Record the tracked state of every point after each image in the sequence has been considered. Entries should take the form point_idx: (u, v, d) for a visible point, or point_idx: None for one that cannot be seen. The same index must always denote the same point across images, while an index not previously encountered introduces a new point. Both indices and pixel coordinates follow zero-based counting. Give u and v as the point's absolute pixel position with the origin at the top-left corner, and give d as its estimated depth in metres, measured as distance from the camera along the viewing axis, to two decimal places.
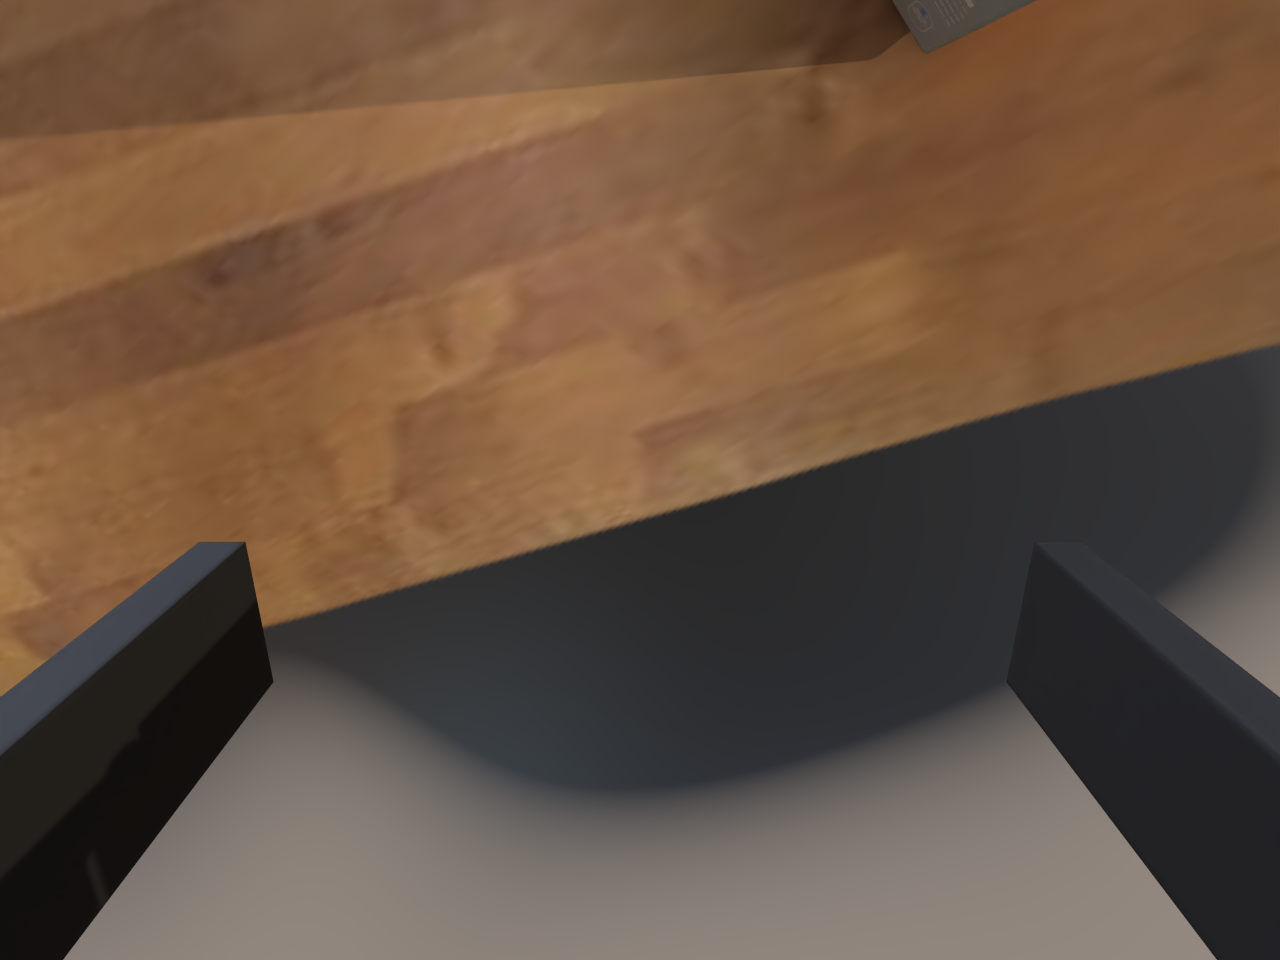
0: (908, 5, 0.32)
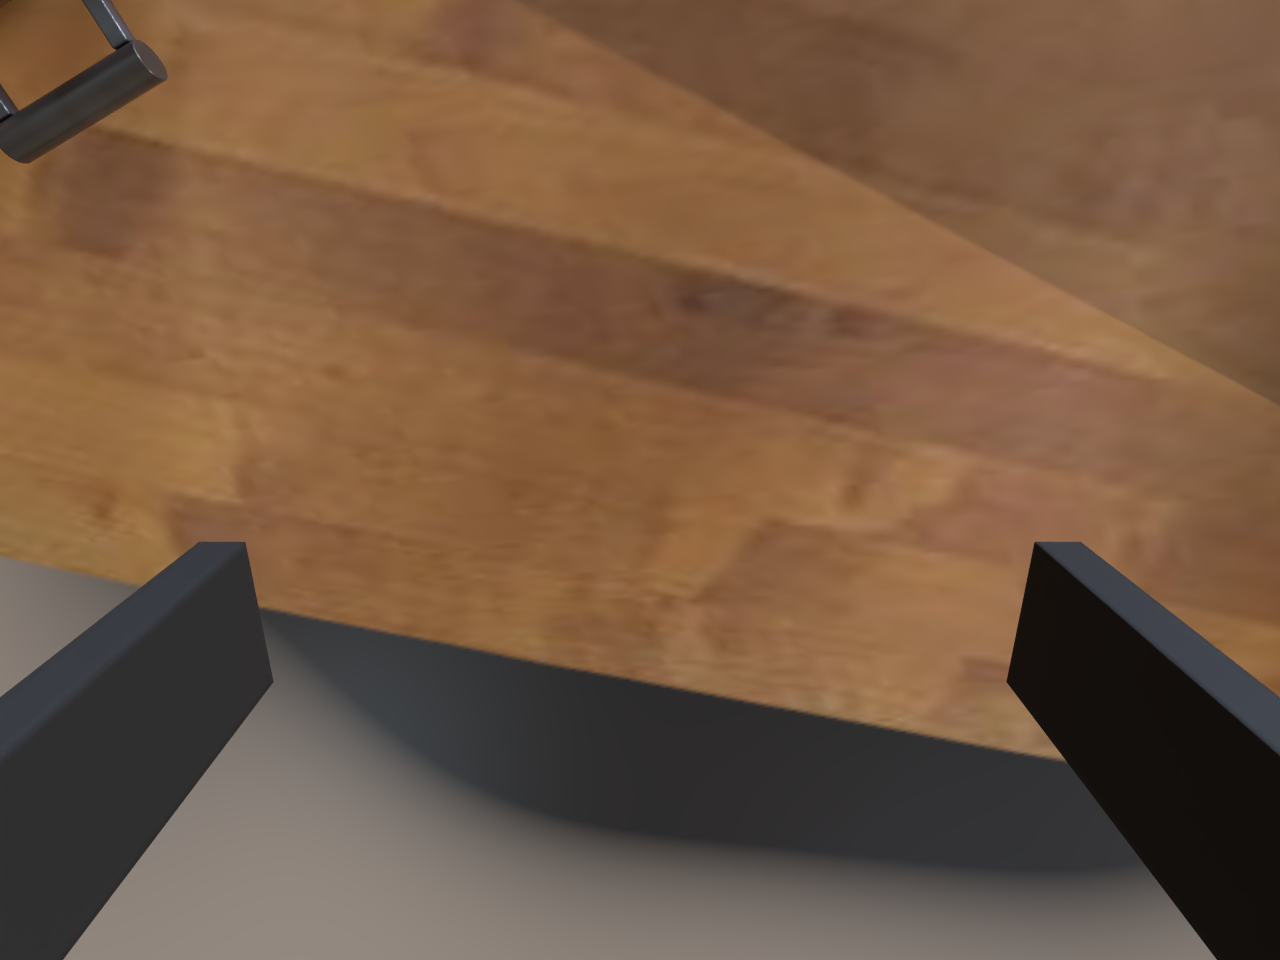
0: None
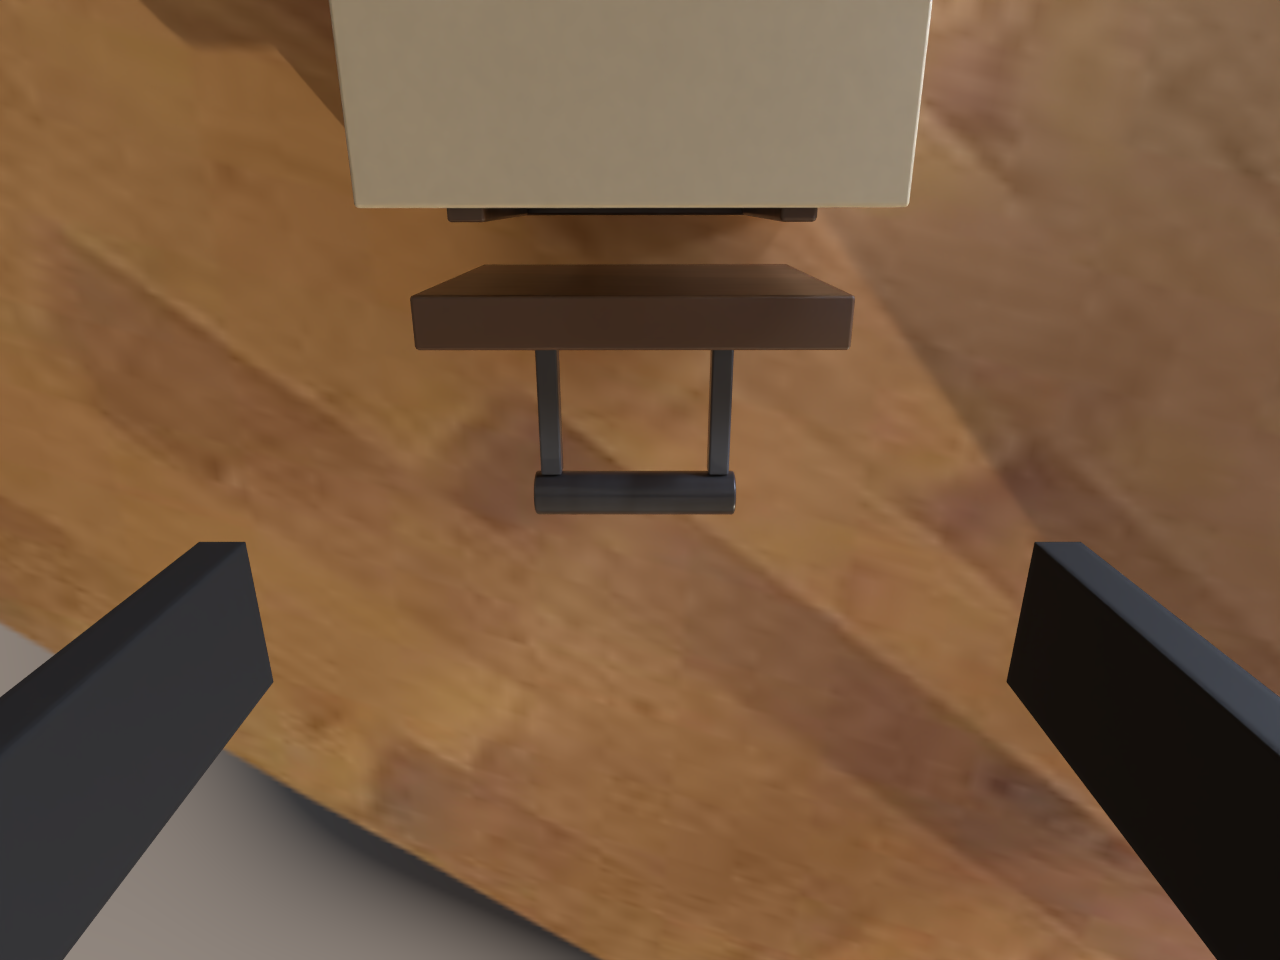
0: None
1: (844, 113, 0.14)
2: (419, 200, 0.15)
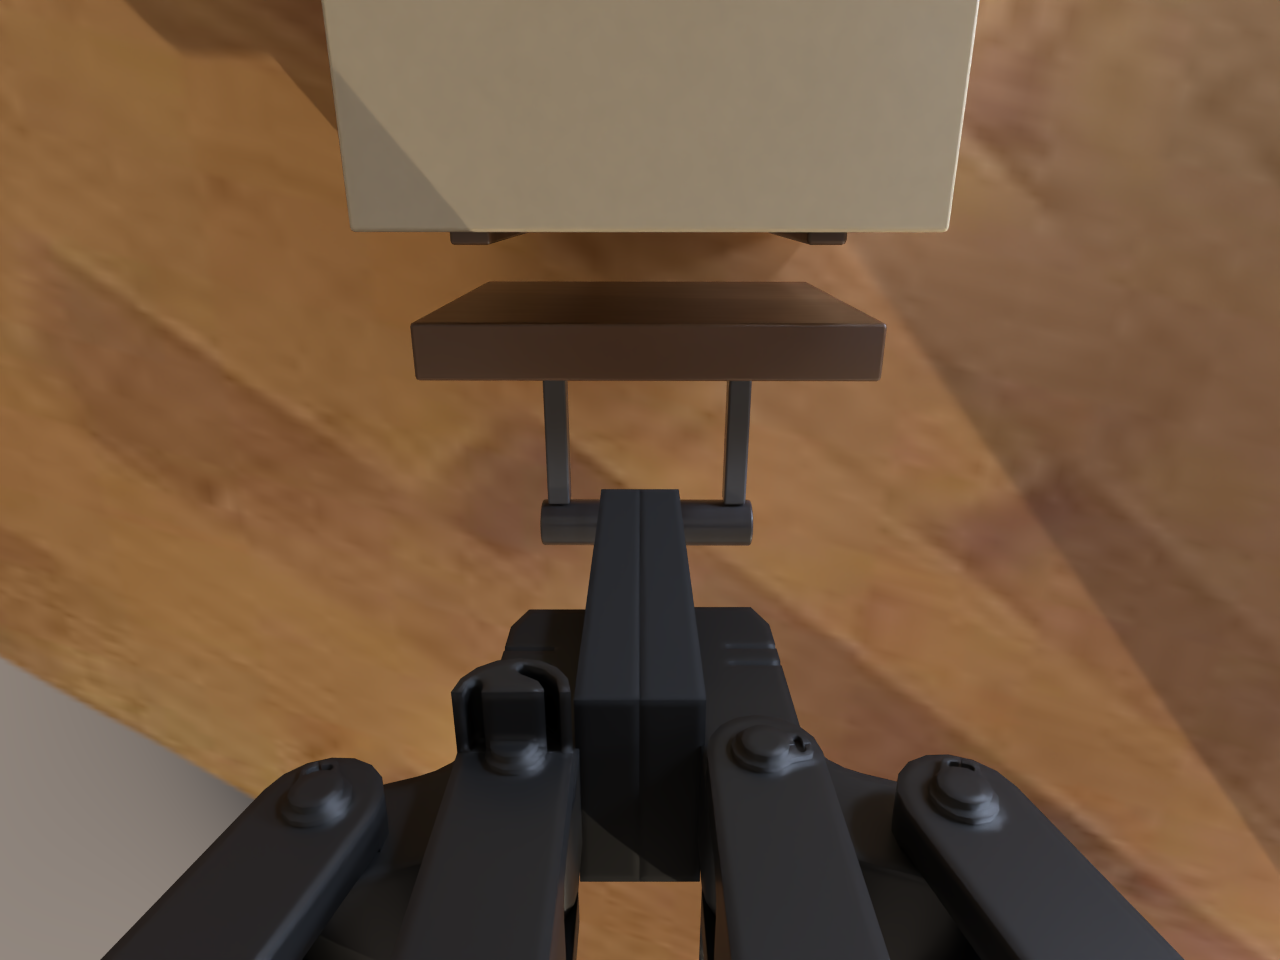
0: None
1: (880, 131, 0.13)
2: (420, 223, 0.14)
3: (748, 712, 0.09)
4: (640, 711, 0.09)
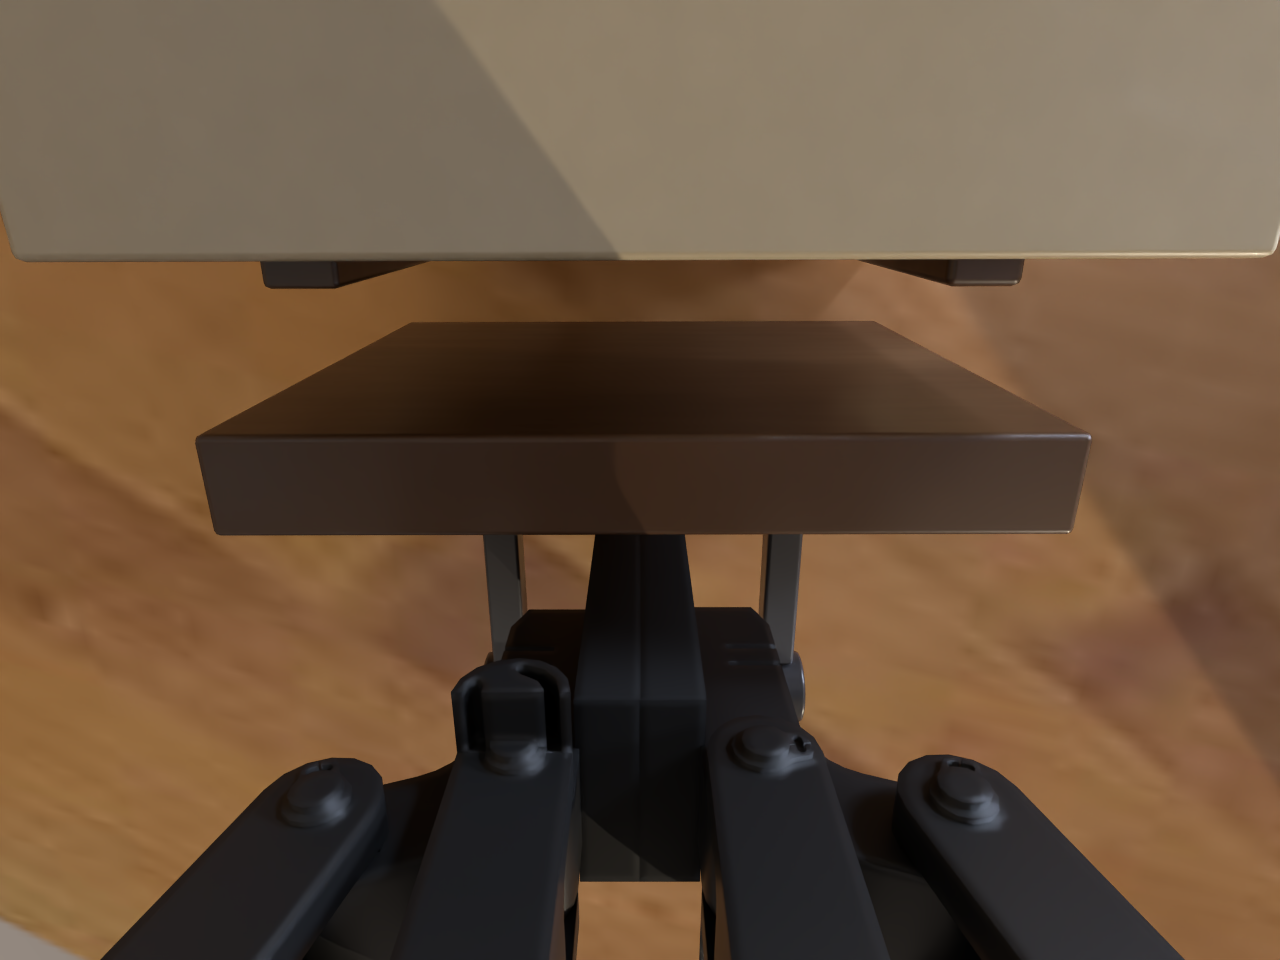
0: None
1: (1155, 37, 0.06)
2: (159, 245, 0.07)
3: (748, 712, 0.09)
4: (640, 711, 0.09)
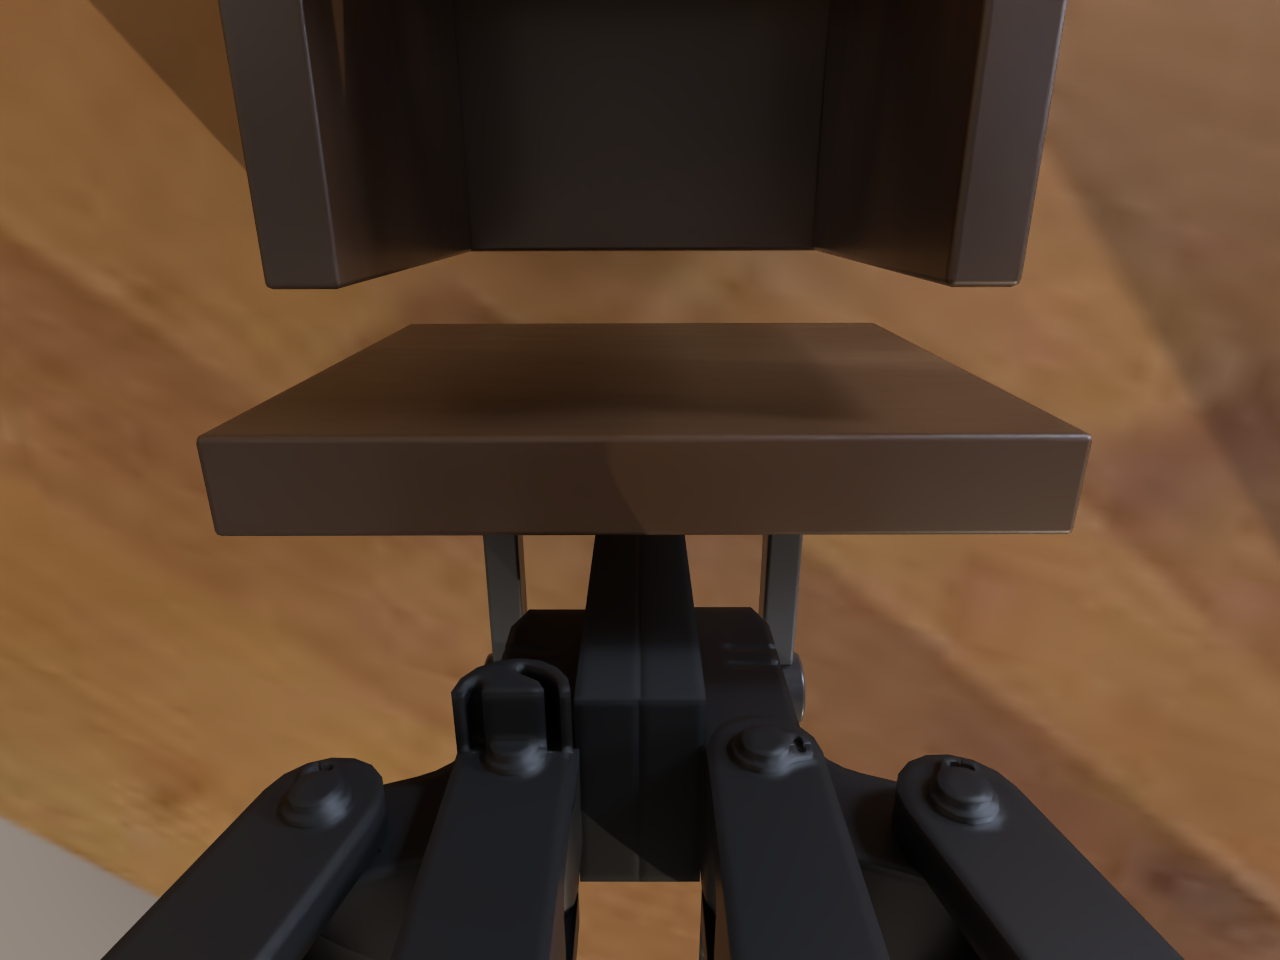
0: None
1: None
2: None
3: (748, 712, 0.09)
4: (640, 711, 0.09)
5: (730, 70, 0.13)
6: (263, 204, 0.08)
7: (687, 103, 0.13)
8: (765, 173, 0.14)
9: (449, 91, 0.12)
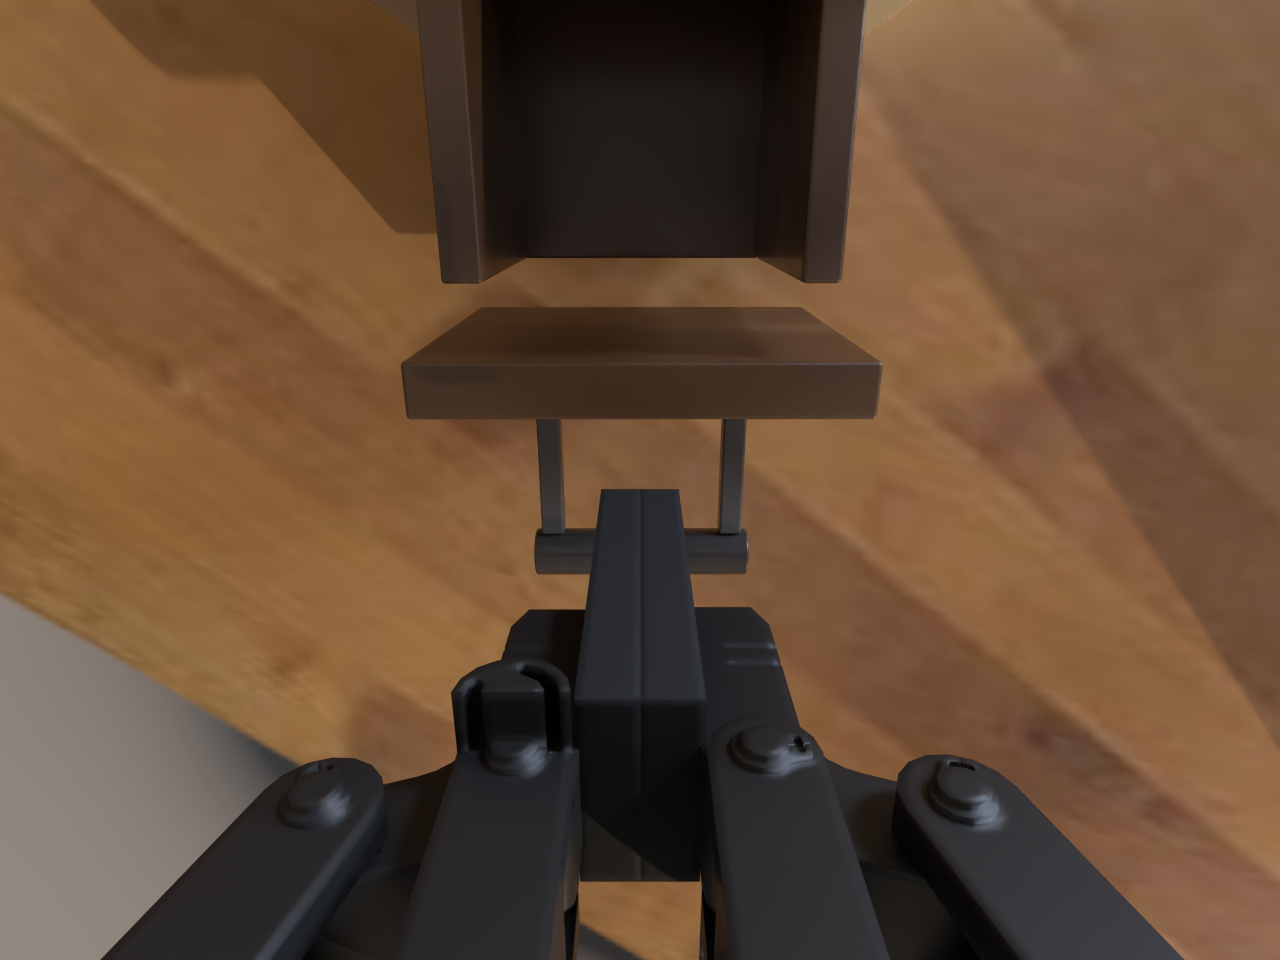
0: None
1: None
2: None
3: (748, 712, 0.09)
4: (640, 711, 0.09)
5: (699, 141, 0.20)
6: (443, 239, 0.15)
7: (671, 161, 0.20)
8: (722, 207, 0.21)
9: (517, 156, 0.19)
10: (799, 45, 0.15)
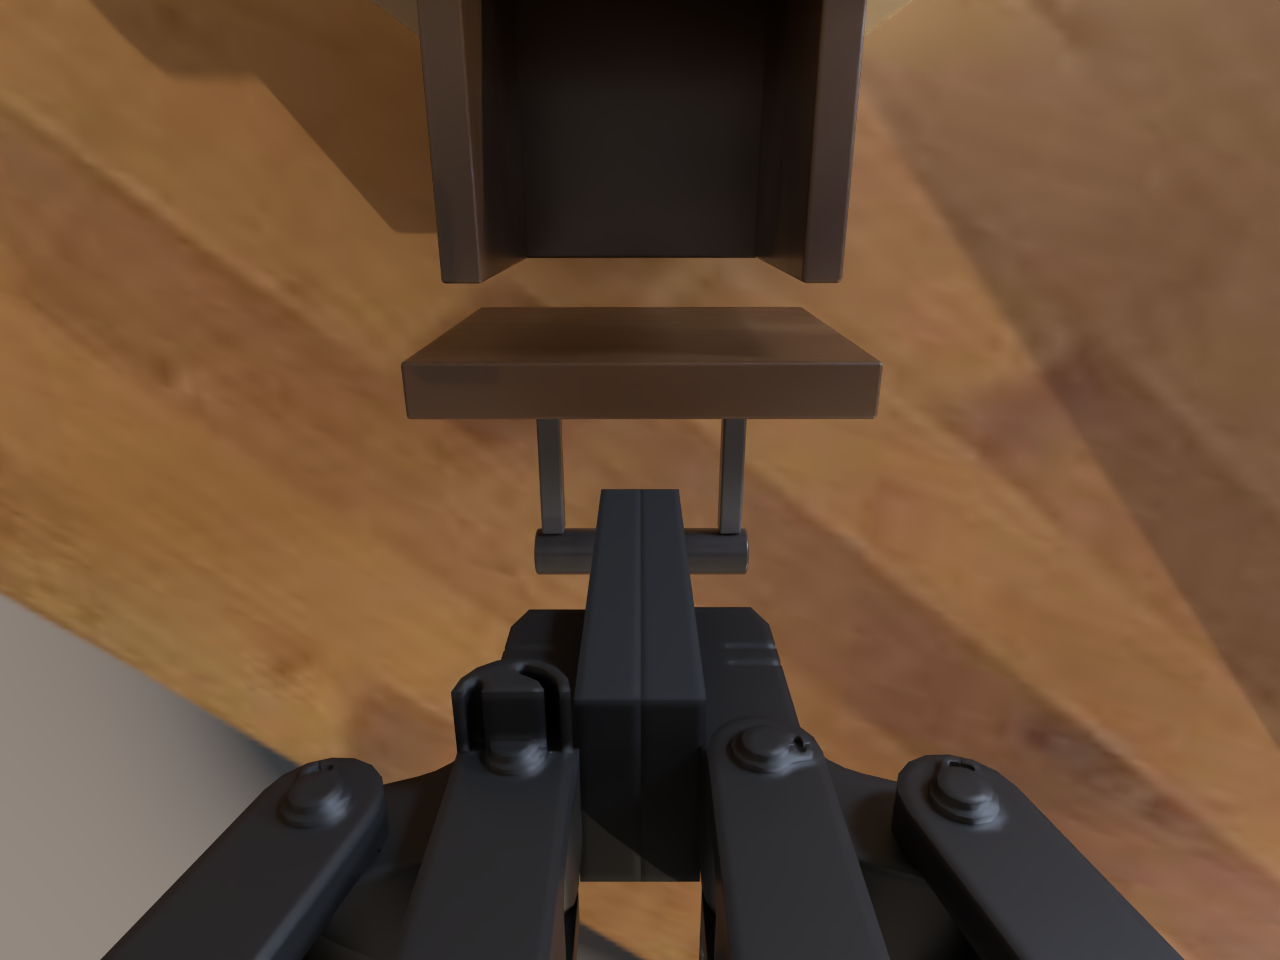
0: None
1: None
2: None
3: (748, 712, 0.09)
4: (640, 711, 0.09)
5: (699, 141, 0.20)
6: (444, 239, 0.15)
7: (671, 161, 0.20)
8: (722, 207, 0.21)
9: (517, 156, 0.19)
10: (799, 45, 0.15)
